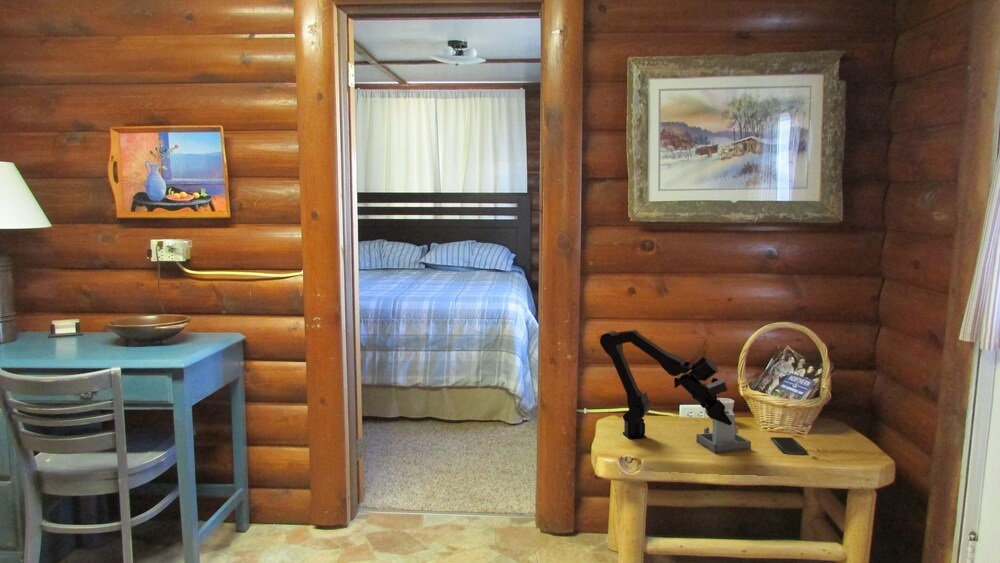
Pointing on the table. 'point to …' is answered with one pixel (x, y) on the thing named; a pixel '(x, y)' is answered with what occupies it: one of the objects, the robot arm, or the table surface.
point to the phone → (789, 446)
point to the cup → (727, 403)
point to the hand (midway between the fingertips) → (727, 420)
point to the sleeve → (724, 430)
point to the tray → (737, 445)
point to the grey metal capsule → (706, 430)
